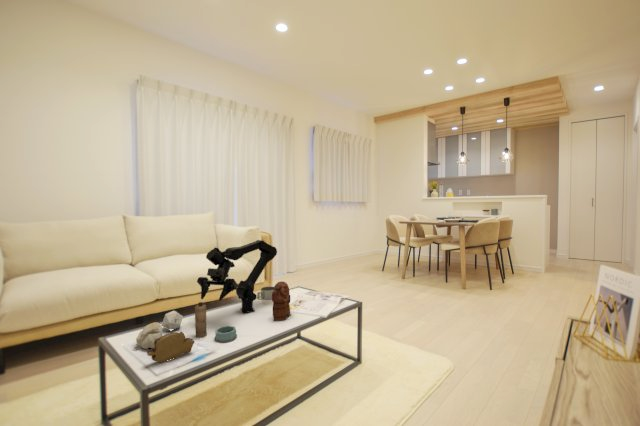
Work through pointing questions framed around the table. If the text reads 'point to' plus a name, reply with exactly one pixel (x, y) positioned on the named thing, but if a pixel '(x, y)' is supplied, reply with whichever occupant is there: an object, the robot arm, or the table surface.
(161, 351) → the wooden carving
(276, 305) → the wooden figurine
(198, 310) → the walnut peg
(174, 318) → the die
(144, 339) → the fossil replica
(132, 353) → the table surface
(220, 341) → the teal bowl
